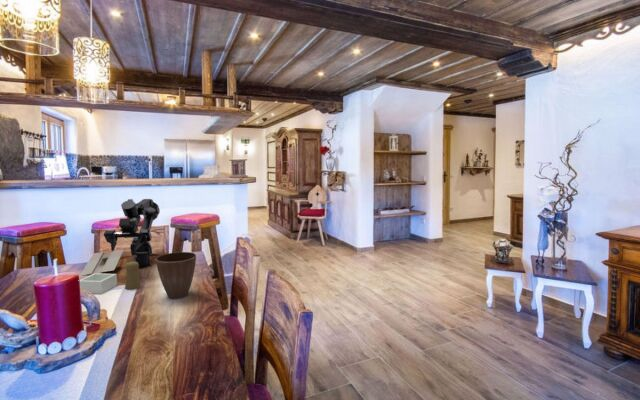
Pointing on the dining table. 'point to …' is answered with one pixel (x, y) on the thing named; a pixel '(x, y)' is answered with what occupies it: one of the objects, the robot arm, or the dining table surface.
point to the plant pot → (176, 273)
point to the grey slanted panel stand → (102, 262)
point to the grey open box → (98, 283)
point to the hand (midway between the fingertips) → (123, 250)
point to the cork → (132, 276)
